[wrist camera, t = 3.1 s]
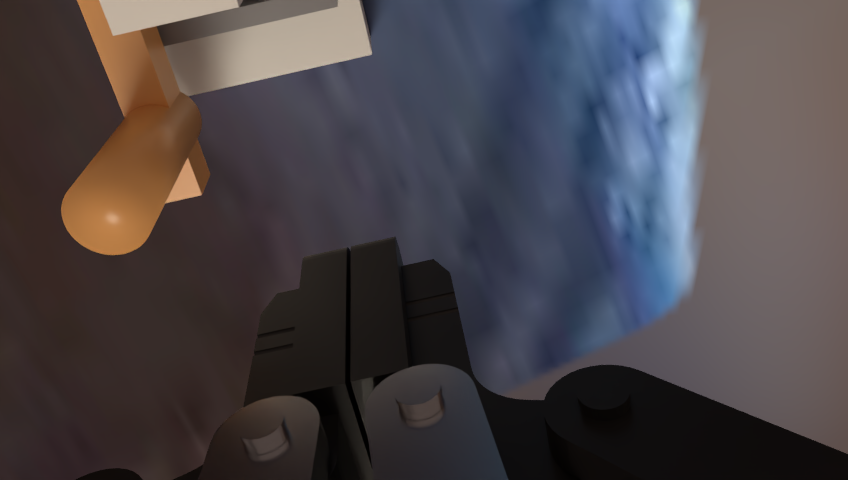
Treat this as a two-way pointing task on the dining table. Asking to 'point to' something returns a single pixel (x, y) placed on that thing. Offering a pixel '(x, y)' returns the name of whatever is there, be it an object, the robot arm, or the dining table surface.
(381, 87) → the dining table surface
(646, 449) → the robot arm
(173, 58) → the white stepped base
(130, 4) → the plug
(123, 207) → the crank handle
